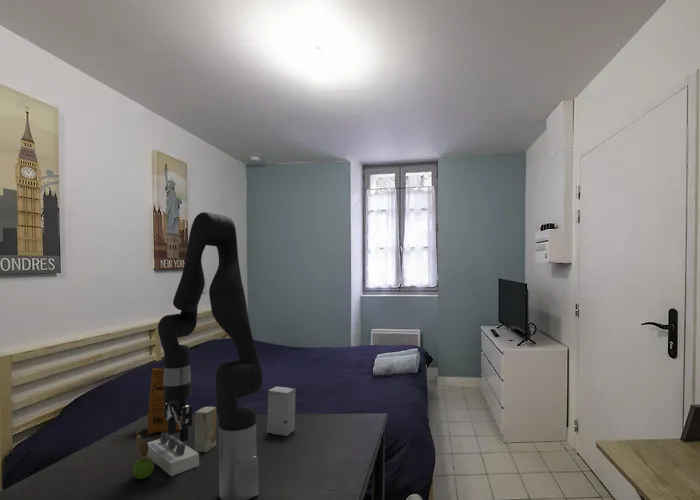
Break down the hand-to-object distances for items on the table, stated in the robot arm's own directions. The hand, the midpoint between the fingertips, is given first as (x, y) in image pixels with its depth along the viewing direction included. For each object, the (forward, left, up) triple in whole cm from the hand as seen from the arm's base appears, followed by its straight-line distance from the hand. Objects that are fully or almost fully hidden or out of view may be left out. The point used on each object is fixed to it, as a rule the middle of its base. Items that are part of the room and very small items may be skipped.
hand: (177, 437), depth 119 cm
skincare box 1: (+5, -11, -8) cm, 15 cm away
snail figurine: (0, +10, -8) cm, 13 cm away
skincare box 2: (-3, -35, -8) cm, 36 cm away
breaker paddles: (+5, 0, -5) cm, 7 cm away
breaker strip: (+10, 0, -8) cm, 13 cm away
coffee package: (+32, -9, -8) cm, 34 cm away
